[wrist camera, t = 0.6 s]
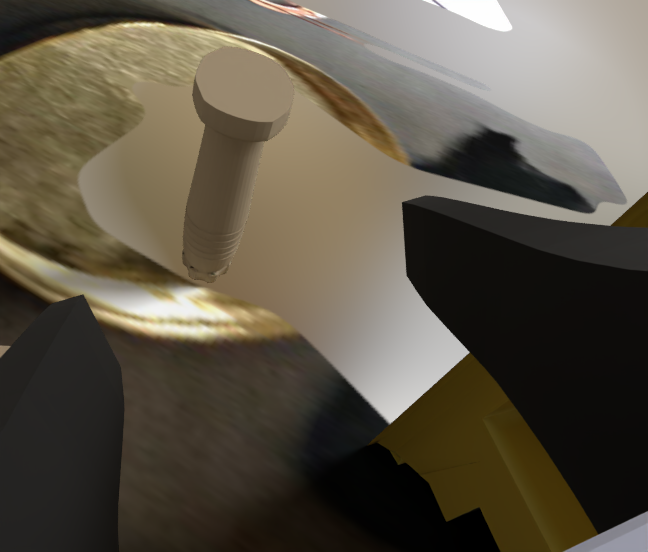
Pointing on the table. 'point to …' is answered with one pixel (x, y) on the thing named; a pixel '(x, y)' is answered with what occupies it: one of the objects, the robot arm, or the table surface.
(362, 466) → the table surface
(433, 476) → the yellow recessed panel
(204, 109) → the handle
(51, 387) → the robot arm
